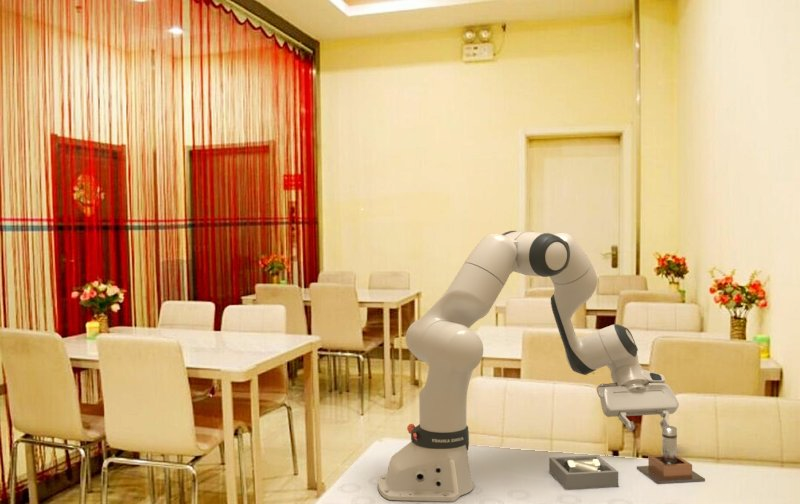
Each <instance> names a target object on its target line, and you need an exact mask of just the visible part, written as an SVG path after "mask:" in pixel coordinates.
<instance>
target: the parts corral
mask: <svg viewBox="0 0 800 504" xmlns="http://www.w3.org/2000/svg"><path fill="white" fill-rule="evenodd" d="M548 458H549V460H548V461H549V462H548V463H549V464H548V465H549V467H548V468H549V469H548V471H549V473H550V475H552V476H553V477H554V479H556V480H557V481H558V483H560V484H561V486H563V488H564V489H566V490H584V489H603V488H617V487H619V471H618V470H617V469H615V468H614V467H613V466H612V465H610V464H609V463H608V462H607V461H606V460H604V459H603V458H601V457H600V456H599V455H598V454H594V455H593V454H591V455H575V456H574V455H573V456H553V457H548ZM591 459H598V460H599V462H600V465H601V471H593V472H575V473H569V472H568V471H567V470H566V469H565V468H564V463H565V461H567V460H573V461H577V460H591Z"/></svg>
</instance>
